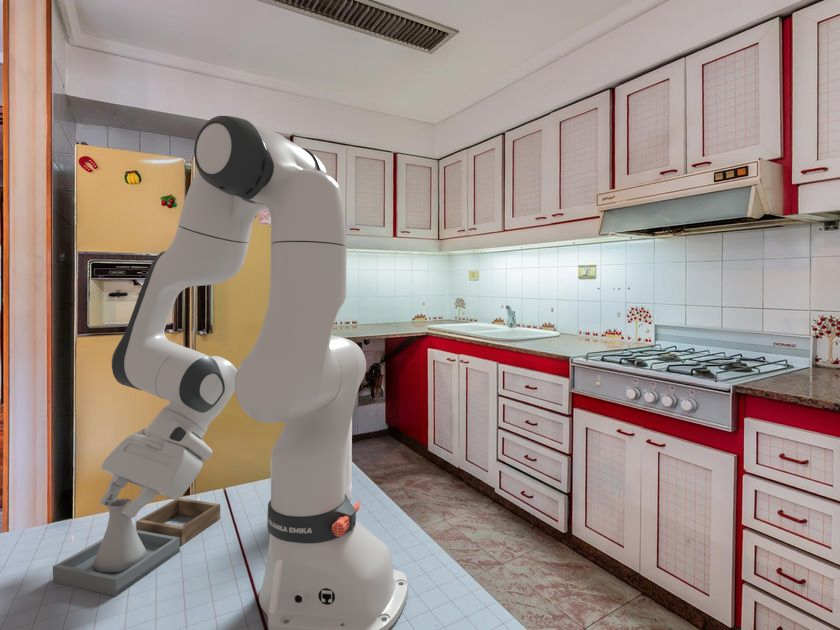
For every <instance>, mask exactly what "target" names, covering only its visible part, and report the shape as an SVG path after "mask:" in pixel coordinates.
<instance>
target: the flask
mask: <svg viewBox="0 0 840 630" xmlns="http://www.w3.org/2000/svg"><path fill="white" fill-rule="evenodd" d="M132 501H133V500H132V499H130V498H119V499H117V500H115V501H112V502H110V503H109V504H108V505H107V506H106V507H107V509H109V510H108V512H109V514H108V515H109V517H108V522H107V526H106V527H107V528H106V530H105V532H104V535H103V538H102V539H103V540H102V539H101V540H102V543H101V546H100V548H99V550H98V553H97V555H96V558H95V560H94V563H93V565H92V568H94V569H95V570H97V571H99V572H100V573H106V572H121V571H123V570H125V569H127V568H129V567H131V566H133V565H135V564H136V563H138V562H139V561H141V560H142V558H143V557H144V556H145V555H146V554H147V551H146V549H145V547H144V545H143V543H142V542H141V540H140V538H139V536H138V534H137V532H136V526H135V525H134V523H133V520H132V518H131V517H128V516H126V515H124V514H123V513H122V512H121V511H122V509H123V508H124V507H125V505H126V504H127V502H130V503H131V502H132Z"/></svg>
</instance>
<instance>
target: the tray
mask: <svg viewBox="0 0 840 630" xmlns="http://www.w3.org/2000/svg"><path fill="white" fill-rule="evenodd" d="M135 530H136V529H135ZM136 532H137V534H138V536H139V538H140V540H141V542H142V543H143V545H144V547H145V549H146V551H147V554H146V555H145V556H144V557H143V558H142V560H141V561H139V562H138V563H136V564H135V565H133V566H131V567H129V568H127V569H125V570H123V571H121V572H106V573H100V572H99V571H97V570H95V569H94V568H92V565H93V563H94V560H95V558H96V555H97V553H98V550H99V548H100V546H101V543H102V540H103V538H102V539H100V540H98V541H96V542H94V543H93V544H91V545H88V546H87V547H86V548H84V549H82V550H80V551H78V552H77V553H75V554H72V555H71V556H69V557H67V558H65V559H64V560H62V561H60V562H58V563H56V564H55V565H53V566H52V582H53V583H56V584H60V585H64V586H70V587H74V588H77V589H82V590H86V591H91V592H95V593H100V594H104V595H108V596H113V597H118V596H119V595H120V594H121V593H123V592H125V591H126V590H128V589H129V588H130V587H131V586H133V585H135V584H136V583H137V582H138V581H140V580H142V579H143V578H144V577H145V576H146V577H147V575H148V574H150V573H151V572H153V571H154V570H156V569H157V568H159V567H160V566H161V565H162V564H164V563H166V562H168V560H170V559H171V558H172V557H174V556H176V555H177V554H178V553H180V548H181V547H180V546H181V545H180V538H179V537H173V536H168V535H162V534H157V533H151V532H145V531H140V530H136Z"/></svg>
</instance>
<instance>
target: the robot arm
mask: <svg viewBox="0 0 840 630" xmlns="http://www.w3.org/2000/svg"><path fill="white" fill-rule="evenodd" d="M193 154H194V155H193V156H194V157H193V158H194V163H195V167H196V170H197V172H196V173H195V174H194V177H193V179H192V181H191V183H190V185H189V188H188V191H187V193H186V195H185V199H184V201H183V205H182V208H181V211H180V216H179V221H178V225H177V230H176V232H175V235H174V237H173V240H172V241H171V244H170V245H169V247H168V248H167V249H166V250H164V251H161V252H159V254H158V255H156V257H154V259H153V260H152V262H151V264H150V266H149V268H148V270H147V273H146V275H145V277H144V281H143V283H142V286H141V289H140V291H139V294H138V296H137V299H136V303H135V305H134V308H133V309H132V313H131V316H130V319H129V322H128V324H127V327H126V330H125V331H124V334H123V336H122V337H121V339H120V340H119V342H118V343H117V346H116V347H115V350H114V351H113V352H112V353H113V354H112V357H111V371H112V375H113V377H114V379H115V381H116V382H117V383H118V384H120V385H122V386H125V387H129V388H132V389H135V390H138V391H143V392H146V393H148V394H150V395H153V396H155V397H157V398H160V399H162V400H166V401H169V403H167V404H166V405H165V406H164V407H163V408H162V409H160V412H158V413H157V415H156V416H155V418H153V419H152V420H151V422H150V423H149V425H148V426H147V427H146V428H142V429H141V430H139V431H136V432H133V433H132V434H130V435H128V436H127V437H125V438H124V439H123V440H122V441H120V443H119V444H118V445H117V446H116V447H115V448H114V449H113V450H112V451H111V453H109V455H108V456H106V458H104V460H103V462H102V465H101V470H103V471H104V472H105V473H107V474H109V475H111V476H113V477H112V478H111V479H110V480H109V483H108V486H107V489H106V492H105V494H104V495H103V496H102V497H101V499H100V500H99V504H101V505H103V506H104V507H107V505H108V504H109V503H110V502H112V501H115V500H117V499H120V498H118V496H119V493H120V492H121V490H122V489H123V488H125V487H126V486H127V484H128V483H130V484H133V485H135V486H137V487H140V488H141V490H140V491H139V495H138V496H136V497H135V498H134V499H133V500H132V502H131V503H130V502H127V504H126V505H125V507H124V508H123V509H122V511H121V512H122V513H123V514H124V515H126V516H128V517H131V519H134V518H135V517H136V516H137V515H138V513H139V512H140V511H141V509H143V508H144V507H145V506H147V505H148V504H150V503H152V501H154V500H155V498H156V497H157V495H158V494H159V495H161V496H164V497H166V498H168V499H171V500H172V501H174V500H175V499H177V498H181V496H183V495H184V494H185V493H186V492H187V490H188V489H189V488H190V486H191V485H192V484H193V482H194V480H195V479H196V477H197V476H198V475H199V473H200V471H201V470H202V468H203V462H206V461H208V460H209V459H210V458H211V456H212V454H213V450H212V448H211V447H209V445H208V444H207V443H206V442H205V441H204V440H203V437H204V436H205V434H206V433H207V431H208V428H209V426H210V424H211V423H212V421H213V420H214V419H216V418H217V417H218V416H219V415H220V414H221V412H222V411H223V409H224V408H225V407H226V405H227V404H228V402H229V401H230V399H231V397H232V396H233V394H234V393H235V397H236V399H237V402H238V404H239V406H240V408H241V410H243V411H244V413H245V414H246V415H247V416H249V417H250V418H251V419H252V420H255V421H257V422H259V423H264V424H265V423H266V424H272V423H273V424H274V423H284V426H283V427H282V431H281V433H280V435H279V437H277V439H276V442H275V443H274V445H273V448H272V450H271V455H270V500H269V501H268V504H267V515H266V517H267V520H266V521H267V523H266V527H267V531H268V532H267V533H268V535H269V539H268V540H269V541H268V550H267V551H268V553H267V559H266V565H265V566H266V567H265V570H264V575H263V576H264V577H263V580H262V584H261V587H260V591H259V594H258V602H259V604H260V608H261V609H262V610H263V612H264V613H265V614H266V616H267V627H268V630H390V629H391V628H392V626H394V624H395V623H396V621H397V620H398V618H399V617H400V615H401V613H402V611H403V609H404V607H405V604H406V602H407V598H408V594H409V585H408V579H407V576H406V574H405V572H403V571H400V570H397V569H394V564H393V558H392V554H391V551H390V549H389V547H388V545H387V544H385V542H383V541H381V540H380V539H379V538H378V537H376V536H375V534H373V533H372V532H371V531H370V530H369V529H368V528H366V527H365V526H363V525H362V524H361V523H360V522H359V521H358V520H356V519H357V515H356V514H357V513H358V511H359V510H360V503H361V501H360V500H358V501H357V502H356V503H355V504H354V505H353V504H352V503H351V502H350V500H348V497H347V495H346V494H345V458H346V445H347V438H348V433H349V428H350V423H351V418H352V419H353V414H354V413H353V412H354V409H355V408H354V407H355V404H356V400H357V395H358V392H359V389H360V386H361V384H362V382H363V380H364V378H365V377H366V372H367V360H366V357H365V354H364V352H363V349H362V348H361V347H360V346H359V345H358V344H357V343H356V342H354V341H353V340H351V339H348V338H345V337H342V336H339V335H333V329H334V325H335V322H336V319H337V316H338V313H339V311H340V309H341V308H342V306H343V304H345V302H346V301H345V300H346V297H347V227H346V226H347V225H346V216H345V208H344V202H343V197H342V192H341V189H340V186H339V184H338V182H337V181H336V180H335V179H334V178H333V177H332V176H330V175H328V171H327V170H326V167H325V166H324V164H323V163H322V161H321V160H320V159H319V158H318V157H317V156H316V155H315V154H314V153H313V152H311V151H310V150H308V149H306V148H302V147H300V146H298V145H297V144H296V143H294V142H292V141H291V140H289V139H288V138H285V136H283V135H281V134H280V133H278V132H275V131H273V130H271V129H267V128H266V127H263V126H260V125H258V124H254V123H251V122H250V121H249V120H248V119H245V118H241V117H238V116H237V117H236V116H231V115H217V116H214V117H212V118H210V119H209V120H207V121H206V122H205V123H204V124H203V126H202V127H201V129H200V130H199V132H198V133H197V136H196V139H195V143H194V148H193ZM265 209H267V210H268V212H269V215H270V224H271V225H270V271H269V272H270V278H269V296H268V303H267V306H266V307H267V308H266V312H265V316H264V319H263V321H262V322H263V323H262V325H261V329H260V330H259V331H260V332H259V334H258V336H257V339H256V341H255V344H253V345H254V346H253V347H252V348H251V350H250V352H249V353H248V354H247V355H246V356H245V358H244V359H243V360H242V361H241V362H240V364H239V366H238V368H237V367H236V366H235V365H234V364H233V363H232V362H231V361H230V360H228V359H227V358H224V357H221V356H219V355H212V356H209V355H207V354H205V353H202V352H200V351H198V350H195V349H193V348H190V347H187V346H184V345H181V344H178V343H176V342H174V341H170V340H169V339H168V338H167V336H166V334H165V329H166V326H167V324H168V321H169V318H170V315H171V313H172V311H173V308H174V305H175V303H176V299H177V298H178V296H179V295H180V293H181V292H182V291H184V290H185V289H187V288H189V287H200V286H201V287H202V286H212V285H217V284H221V283H224V282H227V281H229V280H231V279H232V278H233V277H235V276H236V275H237V274H238V273H239V272H240V271H241V269H242V268H243V265H244V263H245V260H246V257H247V254H248V248H249V244H250V240H251V235H252V229H253V224H254V221H255V219H256V216H257V215H258V214H259V213H260V212H261V211H262V210H265Z"/></svg>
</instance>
